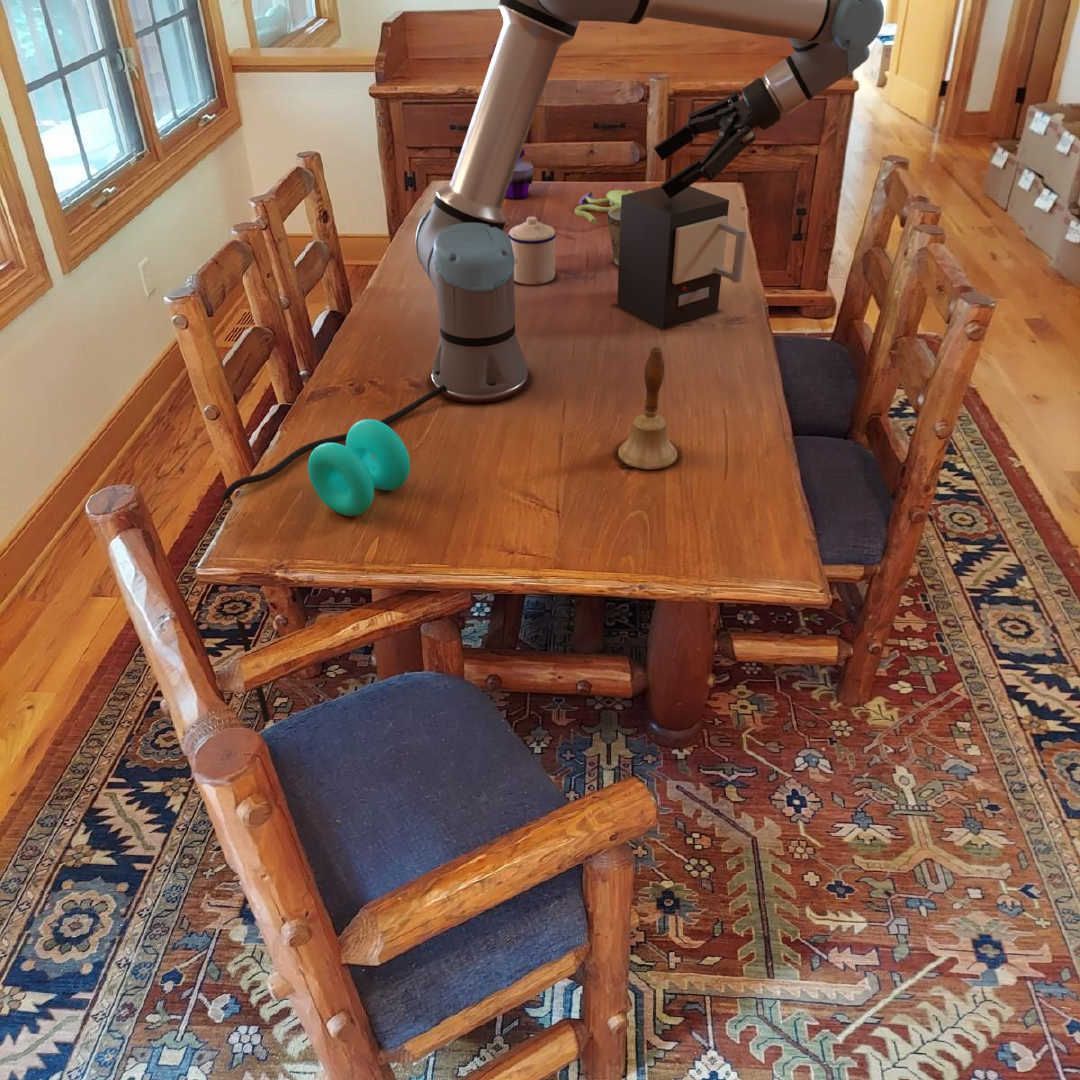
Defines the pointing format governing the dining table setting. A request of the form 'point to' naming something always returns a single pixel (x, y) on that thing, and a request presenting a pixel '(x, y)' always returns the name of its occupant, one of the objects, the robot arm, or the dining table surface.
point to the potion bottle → (520, 179)
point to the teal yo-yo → (359, 467)
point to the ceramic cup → (615, 231)
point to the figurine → (588, 200)
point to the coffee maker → (663, 256)
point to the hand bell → (649, 425)
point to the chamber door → (706, 250)
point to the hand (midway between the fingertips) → (661, 172)
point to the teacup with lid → (533, 252)
